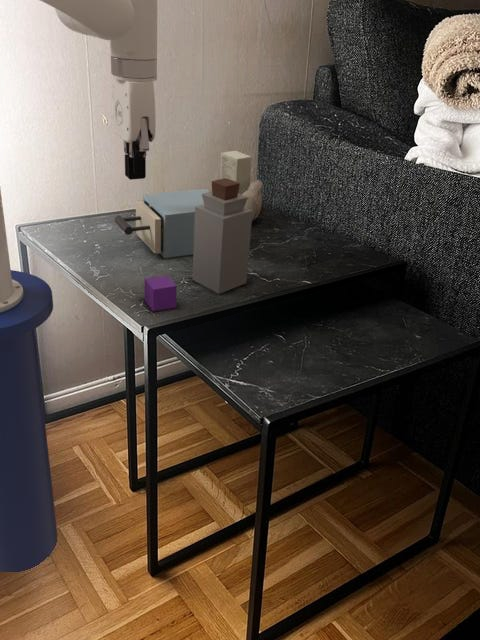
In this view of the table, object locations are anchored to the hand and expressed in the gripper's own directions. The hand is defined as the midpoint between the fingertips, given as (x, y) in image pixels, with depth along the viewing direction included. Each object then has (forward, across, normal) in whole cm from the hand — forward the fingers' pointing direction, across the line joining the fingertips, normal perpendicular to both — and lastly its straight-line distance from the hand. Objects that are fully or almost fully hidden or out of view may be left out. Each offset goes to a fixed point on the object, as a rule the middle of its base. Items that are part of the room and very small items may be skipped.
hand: (135, 177), depth 110 cm
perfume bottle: (+14, +18, +9) cm, 25 cm away
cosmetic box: (+14, -16, +29) cm, 36 cm away
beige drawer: (+13, 0, +6) cm, 14 cm away
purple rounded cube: (+14, +22, -4) cm, 26 cm away
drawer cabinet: (+14, 0, +10) cm, 17 cm away
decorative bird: (+14, -6, +27) cm, 31 cm away
